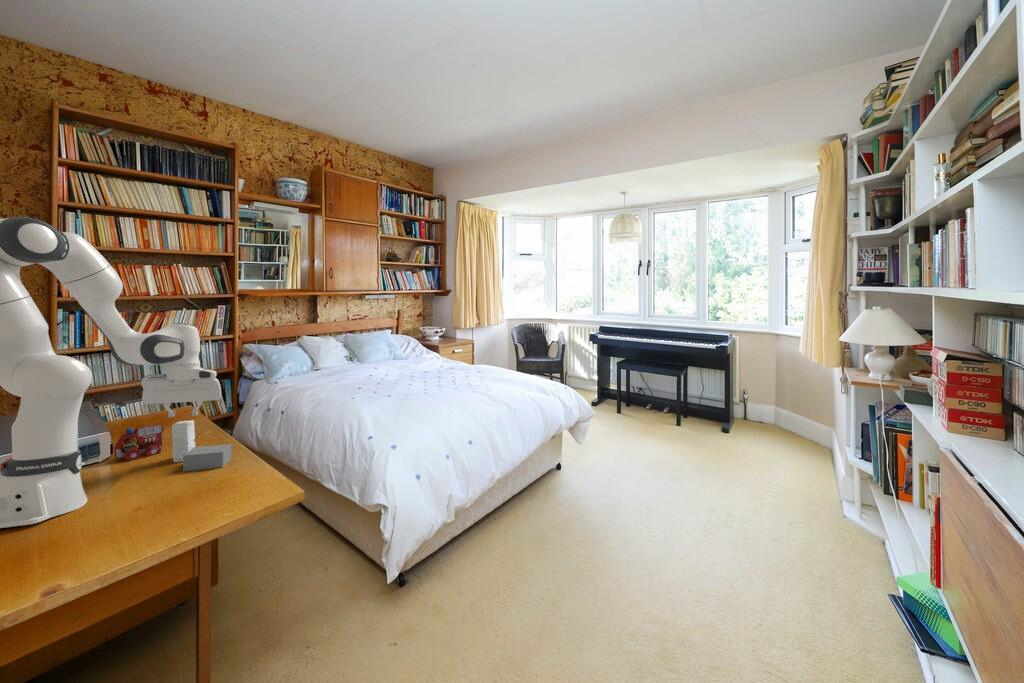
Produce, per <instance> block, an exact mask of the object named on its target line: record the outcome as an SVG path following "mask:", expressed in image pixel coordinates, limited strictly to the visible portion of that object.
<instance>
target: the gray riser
mask: <svg viewBox="0 0 1024 683" xmlns="http://www.w3.org/2000/svg"><path fill="white" fill-rule="evenodd" d="M231 460H232V444H231V443H227V444H217V445H216V444H215V445H206V446H205V445H204V446H195V447H194V448H193V449H191V450H190V451H188V452H187V453H186V454H184V455H183V462H182V464H183V465H182V468H183V469H182V470H183V471H182V472H190V471H191V472H192V471H201V470H210V469H221V468H222V469H223V468H224V467H225V466H226V465H227V464H228V463H229V462H230V461H231Z"/></svg>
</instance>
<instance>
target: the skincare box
mask: <svg viewBox="0 0 1024 683" xmlns="http://www.w3.org/2000/svg"><path fill="white" fill-rule="evenodd" d="M171 434H172V435H171V436H172V437H171V438H172V462H174V463H180V462H181V463H183V455H184V454H186V453H187V452H188V451H190V450H191V449H193V448H194V447H196V431H195V420H193V419H192V420H182V421H181V420H180V421H178V422H175V423H172V424H171Z"/></svg>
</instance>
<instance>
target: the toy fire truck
mask: <svg viewBox="0 0 1024 683" xmlns="http://www.w3.org/2000/svg"><path fill="white" fill-rule="evenodd" d="M163 432H164V424H160V423H159V424H152V425H145V426H140V427H139V426H137V427H136V428H135V429H134V428H132V427H127V428H126V430H125V433H124V434H121V435H120V437H119V438H118V440H117V441H116V442H115V445H114V447H113V452H114V457H115V459H123V458H124V459H125V460H126V461H128V462H130V461H135V460H138V459H140V458H141V456H142V454H143V455H145V456H146V457H151V456H155V455H159V454H160V455H161V452H162V449H163V437H162V436H163V435H162V434H163Z"/></svg>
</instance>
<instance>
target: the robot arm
mask: <svg viewBox="0 0 1024 683" xmlns="http://www.w3.org/2000/svg"><path fill="white" fill-rule="evenodd" d="M35 264H38V265H41V266H43V267H44V268H45V269H47V270H49V271H50V273H53V275H54V276H55V277H56V279H57V280H58V281H59V282H60V284H62V286H63V287H65V289H66V290H67V291H68V292H69V294H71V295H72V296H73V297H74V299H75V300H76V301H77V302H78V304H79V305H80V307H81V308H82V310H83V311H84V313H85V314H86V315H87V317H89V319H90V321H91V322H92V323H93V324H94V325H95V327H96V328H97V329H98V330H99V332H100V333H101V334H102V335H103V337H104V338H105V339H106V342H107V344H108V346H109V350H110V353H111V355H112V357H113V358H114V359H115V360H116V361H117V362H118V363H120V364H122V365H123V366H128V367H129V366H131V367H132V366H133V367H134V366H159V365H163V364H165V373H160V374H159V373H158V374H147V375H146V376H144V377H142V379H141V381H140V382H141V383H140V384H141V388H142V389H143V390H142V397H141V402H142V403H143V404H144V405H159V404H162V405H163V408H164V409H165V411H167V412H168V418H175V417H176V410H172V409H171V404H173V403H175V404H176V403H177V404H178V403H193V402H194V403H196V404H195V405H196V406H197V407H196V408H195V409H192V410H191V416H198V415H199V409H200V408H201V406H202V405H203V402H207V401H209V402H210V401H219V400H220V399H221V398H222V387H221V384H220V381H219V379H218V378H216V377H217V371H216V370H212V369H208V368H206V367H205V368H204V367H202V366H201V361H200V352H201V339H200V333H199V330H198V328H197V327H196V326H194V325H192V324H189V323H183V322H182V323H181V322H172V323H171V322H170V323H169V324H168V325H166V326H164V327H162V328H160V329H159V330H155V331H153V332H150V333H148V332H147V333H140V332H138V331H135V330H134V329H132V328H131V327H130V326H129V325H128V323H127V322H126V320H125V319H124V317H123V316H122V315H121V313H120V312H119V310H118V309H117V308H116V303H115V302H116V300H117V299H118V298H119V297H120V296H121V294H122V292H123V289H124V284H123V282H122V279H121V278H120V276H119V274H118V272H117V271H116V270H115V269H114V267H113V266H112V265H111V264H110V263H109V261H108V260H107V259H106V258H105V257H104V256H103V255H102V254H101V253H100V252H99V251H98V250H97V249H96V248H95V247H94V246H93V245H92V244H91V243H90V242H88V241H87V239H85V238H83V237H82V236H81V235H79V234H77V233H75V232H71V231H70V232H69V231H68V232H67V231H59V230H58V229H56V228H55V227H54V226H52V225H51V224H50V223H47V222H46V221H44V220H41V219H37V218H33V217H28V216H12V217H8V218H7V217H6V218H0V387H2V389H4V391H7V393H9V394H11V395H14V396H16V397H20V404H19V409H18V412H17V415H16V418H15V421H14V422H13V423H12V425H11V450H12V451H11V453H12V454H11V456H10V457H8V458H6V459H5V460H4V461H3V462H2V463H0V474H1V475H0V529H2V528H11V527H18V526H27V525H33V524H34V525H35V524H37V523H40V522H42V521H43V522H44V521H45V520H48V519H50V518H53V517H57V516H60V515H65V514H67V513H70V512H73V511H75V510H78V509H80V508H82V507H84V506H85V505H86V503H87V502H88V497H87V495H86V493H85V489H84V486H83V482H82V476H81V471H82V460H83V459H82V454H81V449H79V428H78V426H79V425H78V424H79V416H80V410H81V407H82V403H83V399H84V396H85V392H86V390H88V388H89V387H90V386H91V384H92V381H93V374H92V370H91V369H90V368H89V366H88V365H87V364H85V363H83V361H80V360H78V359H76V358H74V357H71V356H68V355H61V354H60V355H59V354H57V353H56V352H55V351H54V349H53V346H52V342H51V339H50V335H49V329H50V328H49V324H48V322H47V321H46V319H45V318H44V315H43V314H42V312H41V311H40V309H39V308H38V306H37V305H36V302H35V301H34V300H33V298H32V296H31V295H30V293H29V291H28V290H27V289H26V287H25V286H24V284H23V283H22V279H21V275H20V273H21V268H22V267H26V266H31V265H35Z"/></svg>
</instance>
